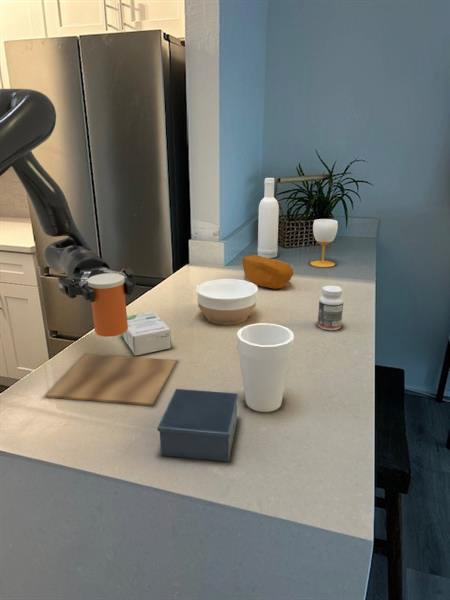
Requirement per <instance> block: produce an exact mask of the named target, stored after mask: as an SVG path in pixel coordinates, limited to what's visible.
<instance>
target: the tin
mask: <svg viewBox="0 0 450 600" xmlns="http://www.w3.org/2000/svg"><path fill="white" fill-rule="evenodd" d="M238 399H239V393H236V392H227V391H226V392H225V391H210V390H199V389H183V388H175V390H174V392H173V394H172V396H171V398H170V401H169V402H168V405H167V406H166V409H165V410H164V413H163V415H162V417H161V420H160V421H159V424H158V426H157V432H159V442H160V453H161V454H160V455H161V456H164V457H165V456H166V457H167V456H168V457H175V458H176V457H177V458H187V459H197V460H207V461H216V462H229V461H230V458H231V452H232V447H233V441H234V437H235V431H236V426H237V421H238Z"/></svg>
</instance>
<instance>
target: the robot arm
mask: <svg viewBox="0 0 450 600" xmlns="http://www.w3.org/2000/svg"><path fill="white" fill-rule="evenodd" d="M56 125H57V112H56V107H55V105H54V103H53V101H52V100H51V99H50V97H49V96H48V95H46V94H45V93H43V92H41V91H38V90H36V89H31V88H0V177H2V176H3V175H4V174H5V173H6V172H7V171H9V170H10V169H11V168H12V169H13V171H14V173H15V175H16V177H17V178H18V180H19V182H20V183H21V184H22V187H23V188H24V190H25V192H26V194H27V196H28V198H29V201H30V203H31V205H32V208H33V210H34V213H35V215H36V218H37V221H38V223H39V226H40V228H41V231H42V232H43V234H45V235H46V236H48V237H52V238H53V237H55V238H57V237H64V238H60V239H58V240H55V241H53V242H52V241H51V242H50V243H48V244H47V245H45V247H44V249H43V253H42V254H43V259H44V261H45V264H46V265H47V266H48V267H49V269H51V270H52V271H53V272H55V273H57V274H60V275H66V277H65V276H60V277H58V278H57V280H58V287H59V291H60V292H61V293H62V294H64V295H65V296H66V297H67V298H69V299H75V298H77V296H80V298H83V300H85V301H89V303H91V302H95V297H94V291H93V289H92V288H91V287H89V286H88V283H87V280H88V278H90V277H92V276H95V275H99V274H107V273H114V274H121V275H123V276H124V278H125V282H124V290H125V295H126V296H131V295H132V294H133V293H134V288H135V287H136V286H137V285H136V277H135V276H136V274H135V272H134V271H133V270H132V269H131V268H130V266H124V267H122V269H121V270H120V271H117V270H115V269H112V268H111V267H110V266H109V264H108V263H107V262H106V261H105V260H104V259H103V258H102V257H100V256H99V255H97V254H96V253H95V252H94V251H92V247H91V245H90V244H89V242H88V241H87V239H86V238H85V237H84V235H83V234H82V232H81V231H80V230H79V228H78V227H77V225H76V223H75V220H74V218H73V215H72V212H71V210H70V207H69V203H68V200H67V198H66V195H65V193H64V192H63V190H62V188H61V187H60V186H59V184H58V183H57V182H56V181H55V180H54V178H52V176H51V174H49V173H48V172H47V171H46V169H45V168H44V167H43V166H42V165H41V164H40V162H39V160H37V158H36V157H35V155H34V152H32V151H33V150H35V149H36V148H38V147H39V146H41V145H42V144H43V143H45V142H46V141H48V140H49V138H50V137H51V136H52V134H53V132H54V130H55V127H56Z"/></svg>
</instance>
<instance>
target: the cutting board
mask: <svg viewBox="0 0 450 600" xmlns="http://www.w3.org/2000/svg"><path fill="white" fill-rule="evenodd" d="M176 363H177V359H166V358H150V357H137V356H123V355H118V356H117V355H105V354H91V353H90V354H89V353H84V355H83V356H82V357H81V358H80V359H79V360H78V361H77V362H76V363H75V364H74V365H73V367H71V368H70V369H69V370H68V371H67V372H66V373H65V374H64V375H63V376H62V377H61V379H59V381H58V382H57V383H55V385H54V386H53V387H52V388H51V389H50V390H49V391H48V392H47V393H46V394H45V397H46V398H53V399H66V400H76V401H77V400H78V401H87V402H88V401H91V402H103V403H115V404H125V405H126V404H127V405H138V406H149V407H150V406H151V407H153V406H154V404H155V402H156V401H157V399H158V398H159V395H160V393H161V392H162V389H163V388H164V386H165V384H166V382H167V380H168V378H169V377H170V374H171V372H172V370H173V369H174V366H175V365H176Z"/></svg>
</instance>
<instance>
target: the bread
mask: <svg viewBox="0 0 450 600" xmlns="http://www.w3.org/2000/svg"><path fill="white" fill-rule="evenodd" d="M241 259H242V261H241V262H242V269H243V273H244V275H245V278H246V279H247V281H248V282H251V283H253V284H255V285H256V286H259V287H263V288H269V289H273V290H274V289H275V290H276V289H282V288H284V287H285V286H286V285H287V284H288V283H289V282H290V281H291V280H292V277H293V275H294V269H293V268H292V266H291V265H289V264H288V263H287V262H285V261H282V260H279V259H274V258H266V257H262V256H259V255H258V254H251V255H246V256H243V257H242V258H241Z"/></svg>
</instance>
